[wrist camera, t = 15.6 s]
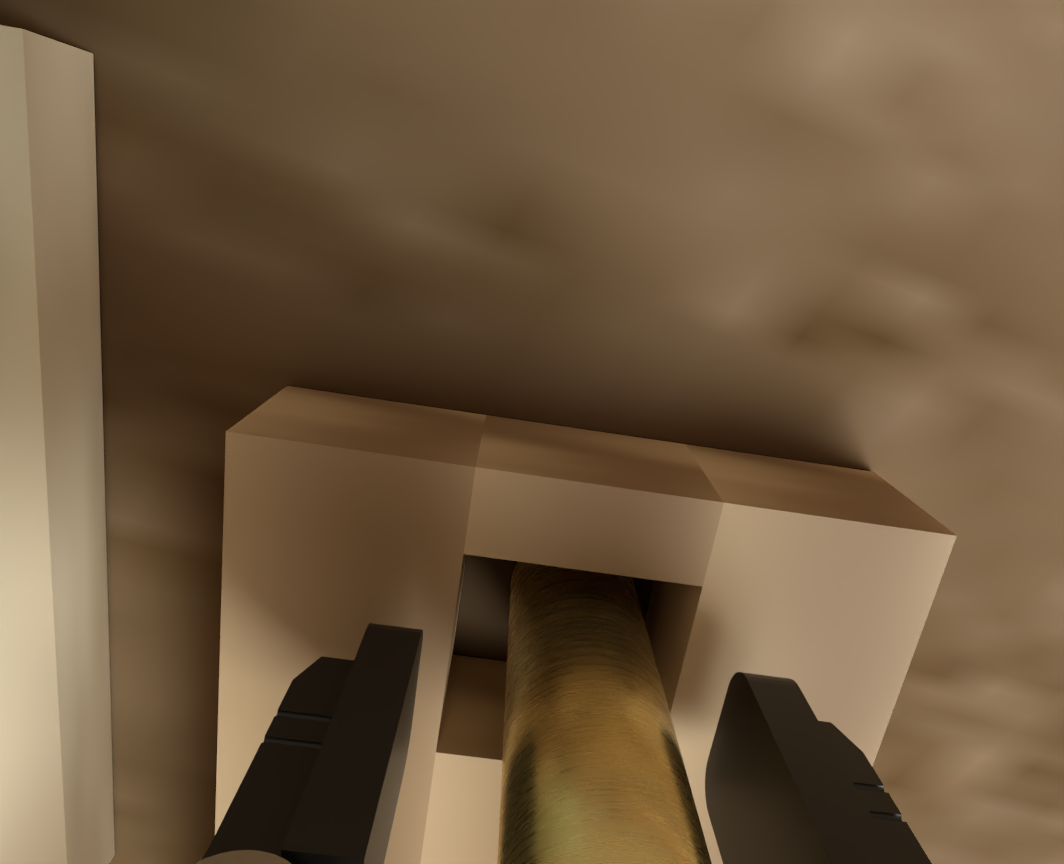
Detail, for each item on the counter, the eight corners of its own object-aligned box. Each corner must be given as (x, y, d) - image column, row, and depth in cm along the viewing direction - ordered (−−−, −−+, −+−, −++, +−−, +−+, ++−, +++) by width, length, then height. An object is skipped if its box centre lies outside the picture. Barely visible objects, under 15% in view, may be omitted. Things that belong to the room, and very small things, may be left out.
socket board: (258, 924, 15) (208, 1056, 13) (287, 385, 12) (225, 431, 9) (714, 974, 16) (746, 1109, 13) (873, 471, 12) (956, 536, 10)
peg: (502, 630, 13) (452, 1422, 5) (520, 523, 13) (503, 1213, 4) (619, 646, 13) (785, 1450, 5) (643, 541, 13) (888, 1251, 4)
